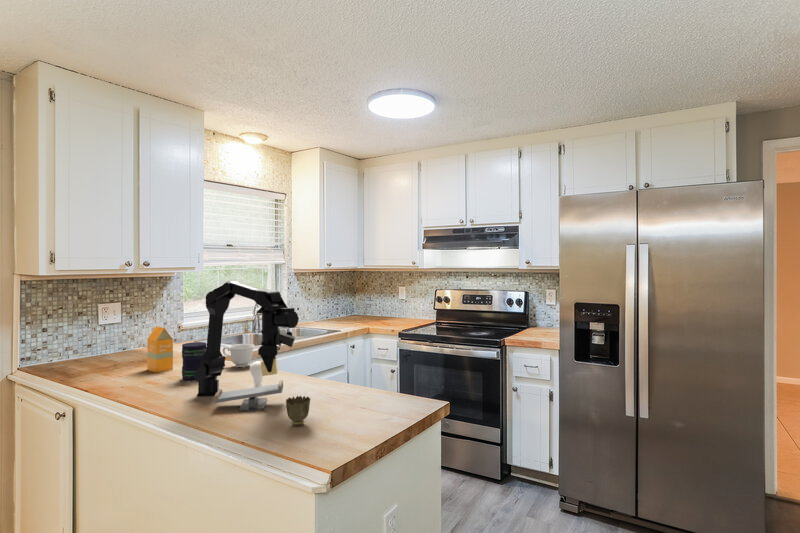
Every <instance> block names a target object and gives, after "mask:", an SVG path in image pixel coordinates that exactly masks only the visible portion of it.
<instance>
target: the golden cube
mask: <svg viewBox="0 0 800 533" xmlns="http://www.w3.org/2000/svg"><path fill="white" fill-rule="evenodd" d="M260 362H261V369H262V376H263V377H265V376H271V375H277V374H278V373H279V367H278V364H279V363H278V357H277V356H275V357H274V360H273V366H272V371H271V372H268V371H267V369H266V366H265V364H264V362H263V360H262V359H261V360H260Z"/></svg>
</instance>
